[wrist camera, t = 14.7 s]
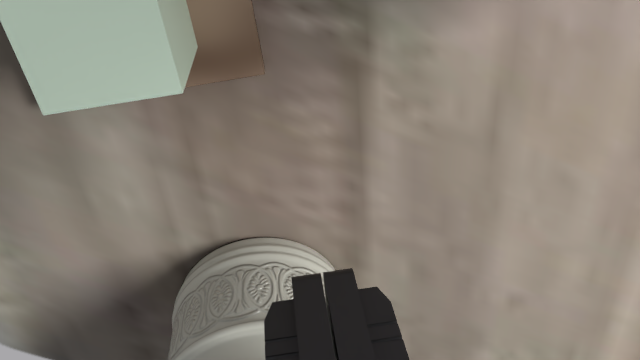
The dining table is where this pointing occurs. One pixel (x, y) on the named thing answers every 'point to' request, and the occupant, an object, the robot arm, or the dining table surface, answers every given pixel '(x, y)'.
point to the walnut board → (224, 41)
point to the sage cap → (100, 49)
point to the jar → (237, 297)
